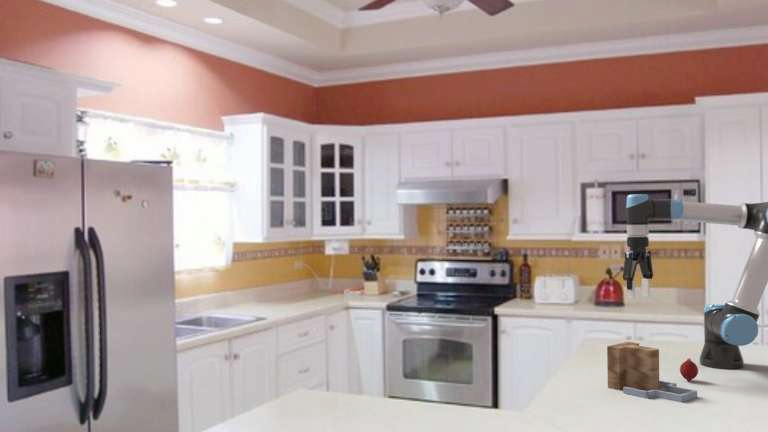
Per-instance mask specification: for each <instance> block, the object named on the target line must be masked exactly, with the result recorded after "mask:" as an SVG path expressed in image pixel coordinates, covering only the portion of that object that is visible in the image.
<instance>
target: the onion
mask: <svg viewBox="0 0 768 432" xmlns="http://www.w3.org/2000/svg"><path fill="white" fill-rule="evenodd" d="M679 372H680V374H681V376H682V378H684V379H685V380H686V381H688V382H690V381H692V380H693V379H695V378H696V377H697V376H698V373H699V368H698V365H697V364H696V363H695V362H694V361H692V360H691V358H690V357H687V359H686V360H685V361H684V362H683V363H681V365H680V368H679Z"/></svg>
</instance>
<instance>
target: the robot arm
mask: <svg viewBox="0 0 768 432" xmlns="http://www.w3.org/2000/svg"><path fill="white" fill-rule="evenodd" d="M625 207H626V208H625V209H626V235H627V237H626V246H627V247H628V248H629V252H627V251H626V252H624V262H623V271H622V272H623V273H622V279H623V281H626V299H630V300H635V299H636V281H635V280H634V279H635V275H636V271H637V266H638V265H639V268H640V272H641V275H642V278H641V296H642V297H647V298H649V297H650V296H651V294H650V292H651V291H650V280H651V279H653V276H654V269H653V263H652V251H651V250H647V247H649V241H650V240H649V235H650V234H649V221H654V220H655V221H659V220H660V221H675V222H676V221H678V222H688V223H690V222H691V223H701V224H704V223H705V224H715V225H727V226H728V225H729V226H737V227H738V228H739V229H743V230H744V229H745V230H751V231H753V234H754V236H755V238H756V239H755V241H754V243H753V245H752V248H751V251H750V253H749V256H748V258H747V261H746V263H745V266H744V267H743V270H742V274H741V276H740V278H739V281H738V283H737V286H736V288H735V291H734V293H733V295H732V298H731V299H730V300H727V301H726V302H725V304H707V305H705V306H704V310H703V319H704V320H703V323H704V326H703V327H704V328H703V331H704V332H703V333H704V344H703V347H702V350H701V352H700V356H699V365H702V366H704V367H708V368H713V369H714V368H716V369H722V370H723V369H724V370H726V369H728V370H729V369H741V368H743V367H744V366H745V365H744V364H745V363H744V362H745V361H744V357H743V355H742V352H741V350H740V347H743V346H747V345H749V344H751V343H753V342H754V341H755V340H756V339H757V337H758V334H759V326H758V320H759V318H760V312H759V311H758V307H759V304H760V302H761V299H762V297H763V294H764V292H765V289H766V288H767V285H768V201H764V202H755V203H745V202H742V203H740V204H739V205H738V204H737V205H735V204H734V205H733V204H722V203H711V202H710V203H709V202H707V203H706V202H693V201H682V200H681V199H679V198H663V199H661V198H660V199H659V198H658V199H652V198H649V195H648V194H646V193H644V194H642V193H641V194H638V193H637V194H629V195H627V196H626V206H625Z"/></svg>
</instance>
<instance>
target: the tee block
mask: <svg viewBox="0 0 768 432" xmlns="http://www.w3.org/2000/svg"><path fill="white" fill-rule="evenodd" d="M606 347H607V350H606V351H607V353H606V356H607V357H606V358H607V361H606V362H607V364H606V365H607V366H606V367H607V388H608V389H611V390H612V389H613V390H618V391H621V390H622V391H623V387H629V388H634V389H639V390H643V391H650V390H653V389H655V390H660V387H659V380H660V348H655V347H648V346H640V343H638V342H631V341H625V342H621V343H616V344H611V345H607V346H606Z"/></svg>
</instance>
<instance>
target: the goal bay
mask: <svg viewBox="0 0 768 432" xmlns="http://www.w3.org/2000/svg"><path fill="white" fill-rule="evenodd" d="M659 388H664V389H665V391H664V390H660V389H659V390H655V389H653V390H650V391H643V390H639V389H634V388H629V387H623V389H622V391H623V392H622V394H624V395H625V394H626V395H629V396H635V397H638V396H639V398H643V397H644V398H643V399H647V398H648V399H647V400H649V399H651V398H659V399H664V398H665V399H664V400H668V399H669V401H673V400H674V402H678V401H679V402H678V403H684V402H687V401H690V400H692V399H696V398H698V390H696V389H695V390H694V389H691V388H685V387H680V386H678V385H677V383H676V382H670V381H665V380H661V379H659ZM676 393H677V394H676Z"/></svg>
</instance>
